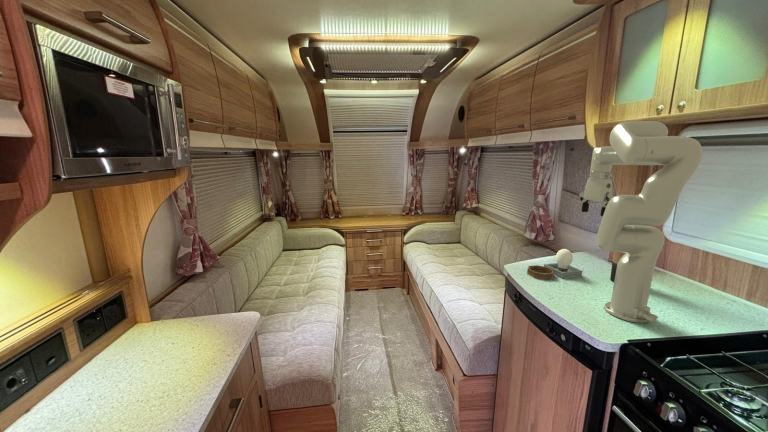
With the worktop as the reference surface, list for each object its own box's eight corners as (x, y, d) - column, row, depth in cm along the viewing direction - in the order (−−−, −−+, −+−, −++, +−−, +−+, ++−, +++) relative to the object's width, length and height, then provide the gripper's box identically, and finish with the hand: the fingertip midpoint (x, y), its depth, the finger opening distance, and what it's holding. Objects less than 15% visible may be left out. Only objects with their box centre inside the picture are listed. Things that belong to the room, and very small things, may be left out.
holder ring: (558, 278, 133) (559, 273, 132) (538, 280, 130) (539, 274, 130) (541, 269, 143) (542, 264, 142) (522, 271, 140) (523, 266, 140)
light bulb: (574, 272, 137) (577, 250, 135) (564, 275, 134) (567, 252, 132) (560, 267, 143) (562, 246, 141) (550, 270, 140) (553, 248, 138)
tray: (581, 276, 135) (582, 270, 134) (561, 278, 133) (562, 272, 132) (562, 267, 145) (563, 262, 145) (543, 269, 143) (544, 264, 143)
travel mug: (636, 285, 125) (644, 240, 121) (617, 285, 126) (625, 240, 121) (622, 278, 133) (629, 235, 129) (605, 278, 133) (612, 235, 129)
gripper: (626, 177, 123) (619, 217, 126) (589, 174, 139) (584, 210, 143) (611, 177, 121) (604, 218, 125) (576, 174, 138) (571, 210, 141)
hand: (593, 213), depth 134 cm, fingers open, 9 cm apart
